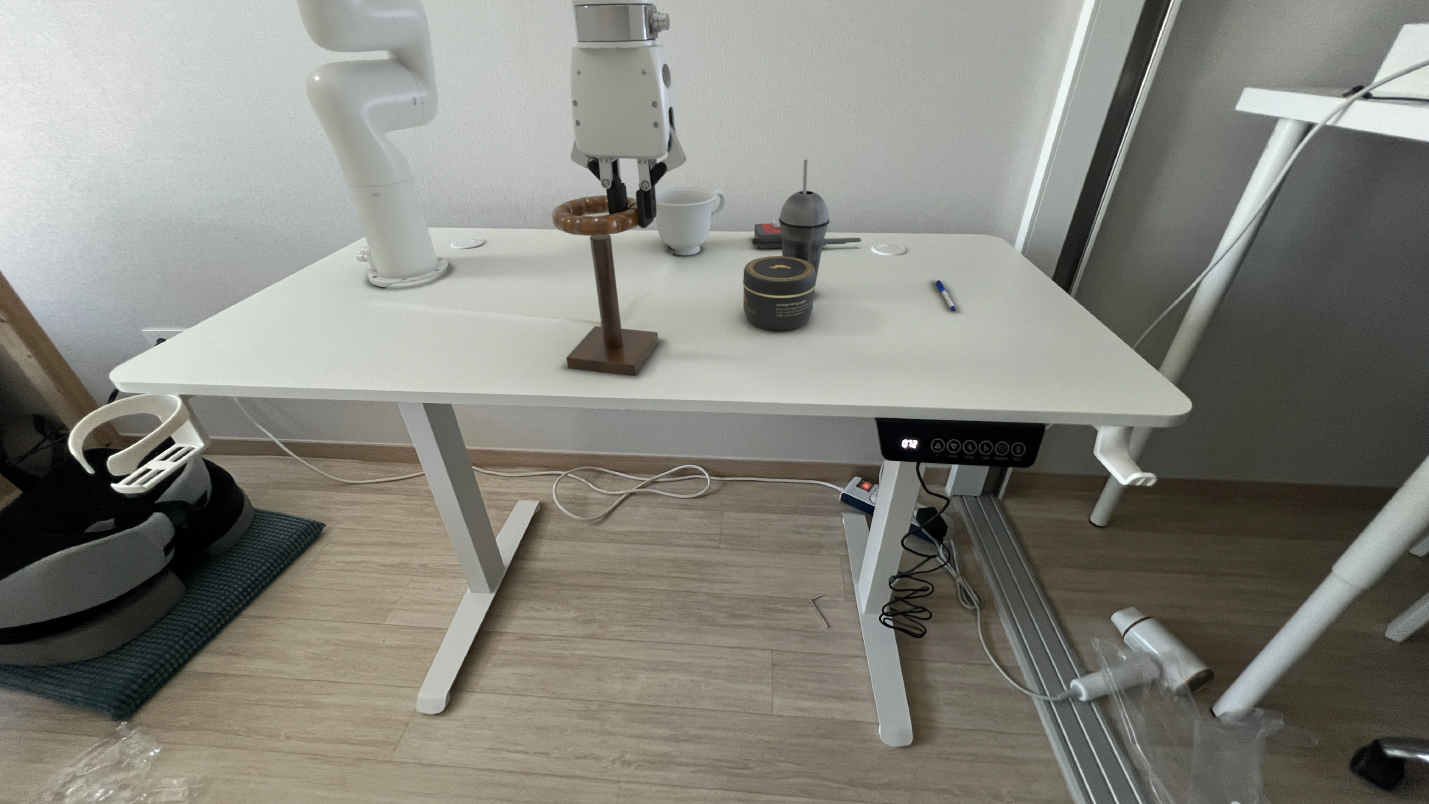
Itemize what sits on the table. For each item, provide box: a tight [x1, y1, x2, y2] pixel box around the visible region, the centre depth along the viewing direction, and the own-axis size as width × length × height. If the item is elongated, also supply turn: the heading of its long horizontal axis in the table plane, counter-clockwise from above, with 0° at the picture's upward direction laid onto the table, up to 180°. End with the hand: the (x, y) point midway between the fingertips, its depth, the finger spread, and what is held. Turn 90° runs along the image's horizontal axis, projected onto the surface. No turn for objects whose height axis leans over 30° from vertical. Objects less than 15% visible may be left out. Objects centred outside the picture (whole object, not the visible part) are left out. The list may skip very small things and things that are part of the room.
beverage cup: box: [778, 159, 830, 286], centre depth 86 cm, size 7×7×20 cm
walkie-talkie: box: [751, 219, 862, 250], centre depth 110 cm, size 9×4×20 cm
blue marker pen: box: [935, 279, 956, 312], centre depth 90 cm, size 10×1×1 cm, turn 176°
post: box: [566, 234, 659, 376], centre depth 72 cm, size 9×9×16 cm
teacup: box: [655, 186, 727, 256], centre depth 107 cm, size 12×15×10 cm
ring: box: [551, 194, 639, 237], centre depth 66 cm, size 10×10×2 cm
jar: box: [742, 255, 817, 332], centre depth 82 cm, size 10×10×8 cm
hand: (633, 222), depth 66 cm, fingers closed on ring, 2 cm apart
